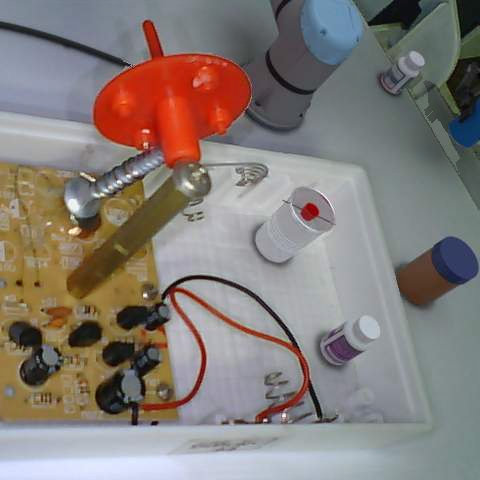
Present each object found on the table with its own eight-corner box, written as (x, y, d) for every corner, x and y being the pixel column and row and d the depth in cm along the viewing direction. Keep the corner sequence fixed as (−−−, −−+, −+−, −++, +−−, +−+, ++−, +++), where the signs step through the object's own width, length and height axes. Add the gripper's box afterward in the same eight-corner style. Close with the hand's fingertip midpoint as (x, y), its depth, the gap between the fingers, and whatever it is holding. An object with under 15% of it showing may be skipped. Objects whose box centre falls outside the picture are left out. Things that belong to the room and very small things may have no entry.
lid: (438, 282, 133) (448, 276, 131) (426, 239, 137) (435, 233, 135) (474, 287, 136) (484, 281, 135) (461, 245, 141) (470, 239, 139)
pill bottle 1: (349, 367, 128) (387, 345, 120) (322, 364, 125) (359, 342, 118) (342, 336, 130) (380, 313, 123) (316, 333, 128) (352, 309, 121)
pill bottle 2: (398, 80, 174) (426, 54, 167) (400, 97, 171) (429, 71, 164) (379, 71, 173) (406, 44, 166) (381, 89, 170) (408, 62, 163)
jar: (402, 303, 140) (446, 276, 132) (392, 264, 144) (434, 235, 136) (436, 308, 144) (481, 282, 135) (425, 269, 147) (468, 241, 139)
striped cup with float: (299, 235, 137) (340, 200, 128) (295, 275, 132) (338, 242, 123) (250, 213, 135) (288, 176, 125) (244, 253, 130) (284, 217, 120)
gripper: (521, 109, 169) (502, 171, 155) (451, 53, 168) (426, 110, 154) (549, 87, 163) (533, 150, 149) (477, 29, 162) (453, 86, 148)
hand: (478, 130), depth 151 cm, fingers closed on beverage can, 6 cm apart
